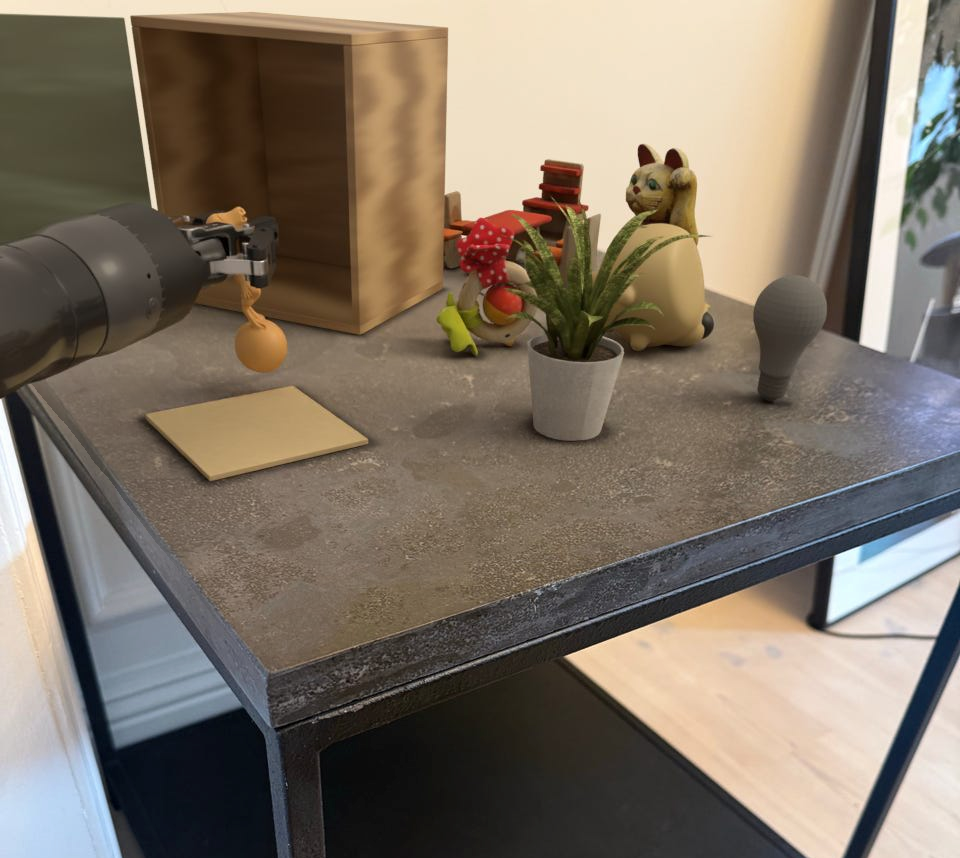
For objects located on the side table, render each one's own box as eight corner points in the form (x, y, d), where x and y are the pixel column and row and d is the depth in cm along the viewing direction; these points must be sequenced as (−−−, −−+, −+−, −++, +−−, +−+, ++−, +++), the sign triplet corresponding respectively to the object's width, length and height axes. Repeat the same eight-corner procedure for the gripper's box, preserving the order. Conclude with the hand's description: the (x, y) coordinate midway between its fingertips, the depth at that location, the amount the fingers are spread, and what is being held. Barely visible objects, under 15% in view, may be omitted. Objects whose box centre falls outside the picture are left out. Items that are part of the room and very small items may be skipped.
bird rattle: (494, 355, 91) (411, 322, 87) (547, 243, 86) (461, 201, 82) (516, 379, 86) (429, 345, 82) (573, 261, 81) (484, 218, 77)
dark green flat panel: (-75, 294, 91) (-159, 4, 78) (157, 281, 98) (117, 13, 85) (-80, 315, 86) (-171, 8, 73) (165, 300, 93) (124, 18, 80)
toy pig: (671, 396, 88) (756, 313, 87) (611, 308, 80) (705, 214, 79) (616, 358, 95) (694, 281, 94) (556, 273, 87) (641, 186, 86)
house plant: (678, 403, 77) (716, 186, 68) (676, 475, 66) (721, 226, 57) (506, 384, 79) (520, 169, 70) (476, 451, 68) (487, 206, 58)
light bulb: (815, 412, 77) (849, 285, 71) (753, 414, 76) (782, 286, 70) (784, 387, 82) (813, 266, 76) (724, 389, 80) (749, 267, 75)
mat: (145, 419, 70) (144, 413, 70) (293, 390, 76) (292, 385, 76) (209, 481, 62) (209, 476, 62) (368, 444, 68) (368, 438, 68)
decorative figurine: (595, 295, 102) (612, 139, 93) (648, 285, 106) (670, 135, 97) (660, 319, 96) (685, 155, 87) (714, 308, 100) (743, 150, 91)
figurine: (289, 395, 72) (298, 231, 64) (207, 390, 70) (206, 221, 63) (282, 350, 78) (289, 196, 70) (206, 344, 76) (205, 186, 69)
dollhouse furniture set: (410, 265, 108) (410, 171, 103) (489, 235, 122) (493, 151, 116) (559, 295, 101) (568, 195, 96) (626, 260, 115) (638, 171, 109)
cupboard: (360, 335, 88) (351, 34, 74) (169, 298, 94) (129, 15, 80) (442, 288, 101) (448, 27, 88) (271, 259, 108) (252, 11, 94)
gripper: (200, 229, 53) (333, 183, 67) (-8, 201, 56) (159, 162, 70) (214, 361, 58) (337, 292, 71) (21, 328, 61) (173, 268, 74)
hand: (248, 228), depth 70 cm, fingers open, 3 cm apart
